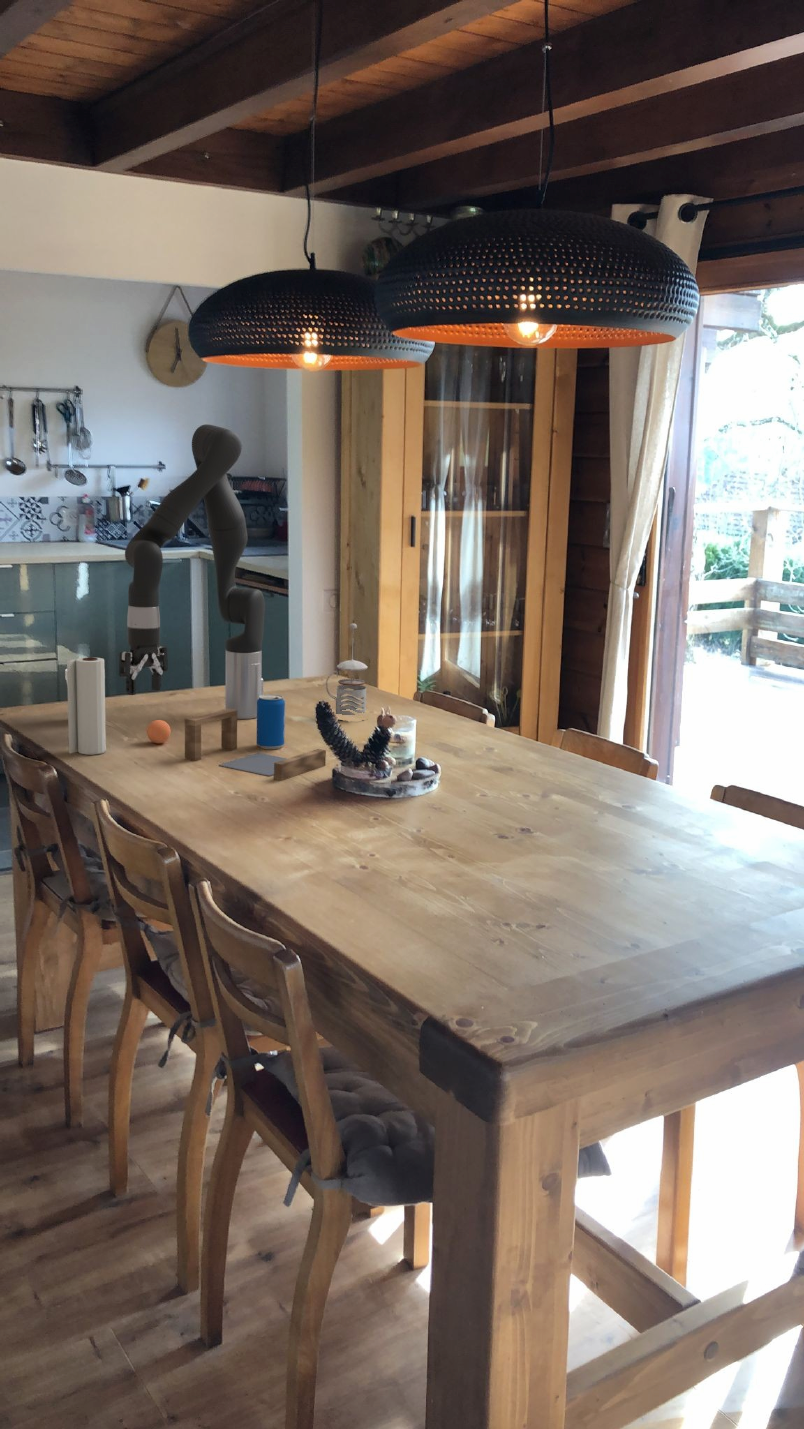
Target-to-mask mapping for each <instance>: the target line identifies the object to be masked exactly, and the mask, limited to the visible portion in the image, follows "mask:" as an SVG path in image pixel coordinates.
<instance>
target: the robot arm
mask: <svg viewBox="0 0 804 1429" xmlns="http://www.w3.org/2000/svg"><path fill="white" fill-rule="evenodd" d="M242 447H243V445H242V440H241V438H240V436H239V435H238V434H237V433H236V432H234V431H233V430H231V429H228V428H226V427H225V428H224V427H221V426H217V425H214V424H202V425H200V426H198V427H197V428H196V429H195V431H194V433H193V435H192V437H191V451H192V455H193V456H192V457H193V459H194V463H195V467H196V470H195V471H194V472H192V474H191V475H190V476H189V477H187V478H186V479H185V480H184V481H183V482H181V483H180V484H178V485H177V486H176V487H175V488H174V489H172V490H171V491H169V492H168V493H167V495H166V496H165V497H163V499H162V500H161V502H159V505H158V506H157V507H156V509H155V511H153V513H152V515H151V516H150V518H149V520H147V522H146V523H145V524H144V525H143V526H142V527H141V528H140V529H139V530H138V531H137V532H136V533H135V534H134V535H133V537H132V538H131V539H130V540H129V542H128V543H127V546H126V547H125V551H124V558H125V561H126V563H127V564H128V566H130V567H132V568H133V576H132V581H131V582H130V583H129V584H128V608H127V609H128V610H127V617H126V618H127V619H126V620H127V627H126V628H127V630H126V631H127V644H128V646H129V647H130V648H129V650H128V651H120V652H119V658H118V659H119V662H118V663H119V664H118V676H119V677H120V678H124V679H125V692H126V694H127V695H129V696H135V695H136V692H137V689H136V688H137V686H136V685H137V683H136V682H137V681H136V680H137V679H136V677H137V676H138V674H139V673H140V672H141V671H142V669H146V668H149V670H150V672H151V673H152V674H151V690H152V691H160V690H161V687H162V675H163V673H165V672H167V671H169V667H168V665H169V664H168V660H169V659H168V648H167V647H165V646H161V645H160V643H161V616H160V614H161V613H160V606H159V605H160V602H159V600H160V592H159V587H160V582H161V577H162V572H163V565H164V564H163V563H164V559H163V552H162V550H161V548H162V547H163V546H164V544H166V542H168V541H171V540H173V539H174V538H175V537H176V535H177V534H178V532H179V531H180V530H181V528H182V527H183V525H184V524H185V522H186V521H187V519H188V518H189V517H190V515H191V513H192V512H193V510H195V509H196V507H197V506H198V505H199V503H200V502H201V501H202V500H203V502H204V506H205V508H204V509H205V513H206V520H207V527H208V533H209V539H210V543H211V548H212V554H213V559H214V568H215V577H216V589H217V600H218V601H217V602H218V610H219V614H220V617H221V619H222V620H223V621H224V622H226V623H228V624H238V625H244V629H243V632H241V633H240V634H239V635H235V636H231V637H229V638H226V640H225V693H224V694H225V695H224V696H225V702H224V703H225V704H224V705H225V707H224V709H227V708H228V709H234V710H237V720H238V719H239V720H240V719H242V720H248V719H249V720H250V719H257V701H258V699H259V696H260V695H264V679H263V677H262V663H263V662H262V660H263V659H262V655H263V654H262V652H263V651H262V650H263V648H262V645H263V640H264V632H265V631H264V626H265V615H266V614H265V612H266V601H265V597H264V594H263V592H262V591H261V590H260V589H257V588H248V587H237V584H236V577H235V575H236V569H237V565H238V563H239V561H240V560H241V557H242V555H243V553H244V551H245V549H246V547H247V544H248V539H249V538H248V530H247V523H246V517H245V514H244V510H243V508H242V506H241V505H242V504H240V502H239V500H238V498H237V496H236V493H234V491H233V488H232V486H231V484H230V482H229V479H228V476H227V472H228V471H230V470H231V469H232V468H233V466H234V465H235V464H236V463H237V461H238V460H239V458H240V457H241V455H242V454H241V453H242V449H243V448H242ZM159 645H160V646H159Z"/></svg>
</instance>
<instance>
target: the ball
mask: <svg viewBox="0 0 804 1429" xmlns="http://www.w3.org/2000/svg"><path fill="white" fill-rule="evenodd" d="M171 733H172V732H171V727H170V725H169V723H167V722H166V721H165V720H162V719H156V720H153V721H151V722H150V723H149V724H148V726H147V728H146V736H147V739H149V740H150V741H151V742H152V743H154V744H163V743H165V742H166V741H168V740H169V738H170V737H171Z"/></svg>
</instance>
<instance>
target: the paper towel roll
mask: <svg viewBox="0 0 804 1429" xmlns="http://www.w3.org/2000/svg"><path fill="white" fill-rule="evenodd" d="M66 669H67V681H66V686H67V685H68V687H67V717H68V718H67V719H68V753H69V754H73V753H76V752H78V753H79V754H82V755H93V756H94V755H101V754H103V753H106V752H107V746H106V745H107V740H106V685H105V684H106V681H105V679H106V672H104V669H105V659H104V658H101V657H92V656H89V657H80V658H79V657H78V658H73V659H71V660H67V661H66Z"/></svg>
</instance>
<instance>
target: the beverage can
mask: <svg viewBox="0 0 804 1429" xmlns="http://www.w3.org/2000/svg"><path fill="white" fill-rule="evenodd" d="M285 712H286V700H285V699H284V696H283V695H281V694H274V693H268V694H267V693H266V694H265V693H264V694H263V695H260V696H259V699H258V701H257V718H256V745H257V746H259V748H261V749H264V750H278V749H281V748H282V747H283V746H284V745H285V732H286V731H285V727H286V725H285V721H286V719H285V716H286V713H285Z"/></svg>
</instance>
